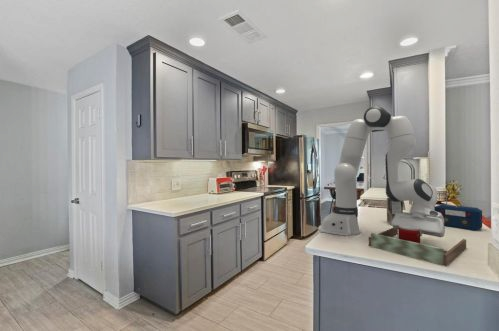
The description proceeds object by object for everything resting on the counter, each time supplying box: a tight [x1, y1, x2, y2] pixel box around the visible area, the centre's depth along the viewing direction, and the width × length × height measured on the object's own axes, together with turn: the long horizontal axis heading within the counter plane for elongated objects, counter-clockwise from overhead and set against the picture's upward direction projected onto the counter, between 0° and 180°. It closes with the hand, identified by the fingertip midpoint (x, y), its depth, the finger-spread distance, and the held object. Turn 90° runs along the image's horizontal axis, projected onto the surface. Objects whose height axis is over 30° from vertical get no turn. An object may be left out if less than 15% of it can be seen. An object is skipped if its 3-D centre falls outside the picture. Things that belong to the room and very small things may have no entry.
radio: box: [435, 192, 483, 232], centre depth 144 cm, size 21×9×20 cm, turn 37°
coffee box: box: [386, 197, 404, 226], centre depth 152 cm, size 9×6×16 cm
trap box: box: [368, 226, 467, 267], centre depth 111 cm, size 29×30×6 cm
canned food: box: [397, 224, 421, 244], centre depth 105 cm, size 8×8×11 cm
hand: (412, 239), depth 108 cm, fingers closed
